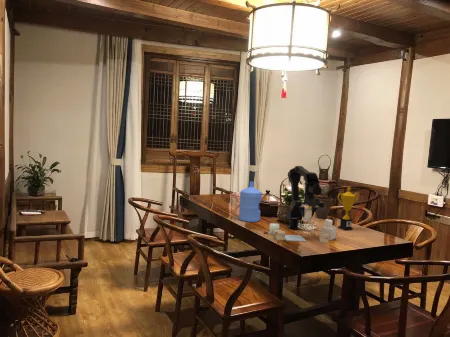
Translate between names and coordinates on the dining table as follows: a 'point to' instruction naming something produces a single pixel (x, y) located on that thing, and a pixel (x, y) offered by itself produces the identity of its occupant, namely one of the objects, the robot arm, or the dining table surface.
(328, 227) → the medicine bottle
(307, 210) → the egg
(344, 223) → the trophy
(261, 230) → the dining table surface
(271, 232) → the pale curved piece
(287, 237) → the felt mat
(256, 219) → the water jug
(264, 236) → the dining table surface
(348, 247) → the dining table surface
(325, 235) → the beech block
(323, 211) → the plant pot
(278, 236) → the beech block
